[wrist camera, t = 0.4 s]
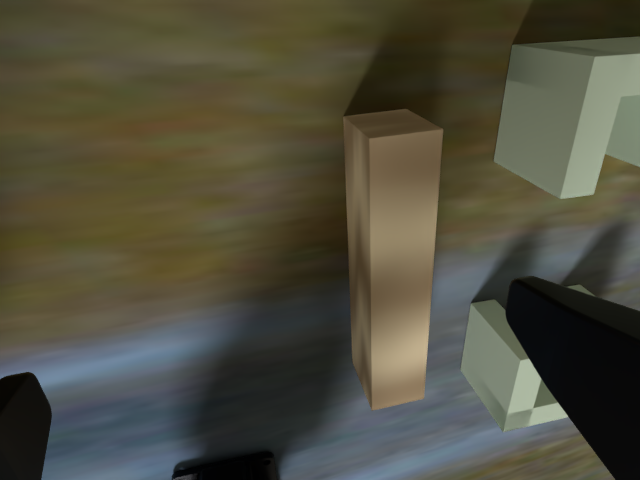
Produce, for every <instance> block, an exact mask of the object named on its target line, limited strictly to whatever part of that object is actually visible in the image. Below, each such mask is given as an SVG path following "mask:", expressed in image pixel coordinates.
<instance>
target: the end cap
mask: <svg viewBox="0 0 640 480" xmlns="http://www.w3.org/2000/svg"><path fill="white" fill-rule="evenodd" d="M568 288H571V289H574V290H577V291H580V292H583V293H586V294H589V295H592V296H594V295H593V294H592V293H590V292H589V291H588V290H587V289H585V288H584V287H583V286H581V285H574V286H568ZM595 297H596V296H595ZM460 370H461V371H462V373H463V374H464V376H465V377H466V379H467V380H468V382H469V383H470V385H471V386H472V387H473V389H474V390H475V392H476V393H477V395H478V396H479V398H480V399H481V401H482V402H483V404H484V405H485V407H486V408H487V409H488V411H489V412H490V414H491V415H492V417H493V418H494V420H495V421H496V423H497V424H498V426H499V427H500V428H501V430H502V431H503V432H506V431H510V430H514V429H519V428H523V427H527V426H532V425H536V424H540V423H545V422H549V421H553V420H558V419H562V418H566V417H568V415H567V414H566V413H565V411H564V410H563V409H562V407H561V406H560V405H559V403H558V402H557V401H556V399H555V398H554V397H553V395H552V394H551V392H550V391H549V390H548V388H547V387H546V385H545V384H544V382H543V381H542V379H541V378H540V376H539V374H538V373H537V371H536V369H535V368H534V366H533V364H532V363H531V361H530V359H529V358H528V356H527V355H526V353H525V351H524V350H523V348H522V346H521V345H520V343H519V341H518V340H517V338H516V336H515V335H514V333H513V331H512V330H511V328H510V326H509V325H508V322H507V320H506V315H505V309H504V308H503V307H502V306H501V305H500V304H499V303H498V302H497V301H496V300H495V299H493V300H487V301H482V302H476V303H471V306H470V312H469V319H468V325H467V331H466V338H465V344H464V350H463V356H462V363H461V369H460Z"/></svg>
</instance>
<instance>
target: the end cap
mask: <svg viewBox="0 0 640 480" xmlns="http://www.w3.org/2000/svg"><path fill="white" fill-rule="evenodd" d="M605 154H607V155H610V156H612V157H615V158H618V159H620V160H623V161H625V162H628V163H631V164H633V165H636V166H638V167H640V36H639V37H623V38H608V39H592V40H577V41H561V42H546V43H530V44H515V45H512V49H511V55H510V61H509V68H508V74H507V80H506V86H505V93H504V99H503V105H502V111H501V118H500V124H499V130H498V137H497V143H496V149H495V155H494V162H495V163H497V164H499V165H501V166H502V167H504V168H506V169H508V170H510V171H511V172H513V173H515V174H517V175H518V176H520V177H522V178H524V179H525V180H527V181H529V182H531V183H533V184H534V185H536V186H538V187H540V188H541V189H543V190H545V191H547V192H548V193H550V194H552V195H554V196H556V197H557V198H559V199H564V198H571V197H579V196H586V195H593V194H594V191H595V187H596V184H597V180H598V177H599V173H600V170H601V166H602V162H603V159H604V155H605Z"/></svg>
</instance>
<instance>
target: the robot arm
mask: <svg viewBox="0 0 640 480" xmlns="http://www.w3.org/2000/svg"><path fill="white" fill-rule="evenodd" d="M505 315H506V320H507V322H508V325H509V326H510V328H511V330H512V331H513V333H514V335H515V336H516V338H517V340H518V341H519V343H520V345H521V346H522V348H523V350H524V351H525V353H526V355H527V356H528V358H529V359H530V361H531V363H532V364H533V366H534V368H535V369H536V371H537V373H538V374H539V376H540V378H541V379H542V381H543V382H544V384H545V385H546V387H547V388H548V390H549V391H550V392H551V394H552V395H553V397H554V398H555V399H556V401H557V402H558V403H559V405H560V406H561V407H562V409H563V410H564V411H565V413H566V414H567V415H568V417H569V418H570V419H571V421H572V422H573V424H574V425H575V426H576V428H577V429H578V430H579V432H580V433H581V434H582V436H583V437H584V438H585V440H586V441H587V442H588V444H589V445H590V446H591V448H592V449H593V450H594V452H595V453H596V454H597V456H598V457H599V458H600V460H601V461H602V462H603V464H604V465H605V466H606V468H607V469H608V470H609V472H610V473H611V474H612V476H613V477H614V478H615V480H640V311H638V310H635V309H632V308H629V307H626V306H623V305H620V304H617V303H614V302H611V301H608V300H605V299H602V298H598V297H595V296H592V295H589V294H586V293H583V292H580V291H577V290H574V289H571V288H568V287H565V286H562V285H559V284H556V283H553V282H550V281H547V280H544V279H541V278H538V277H534V276H527V277H522V278H517V279H514V280H512V282H511V283H510V286H509V292H508V298H507V304H506V310H505ZM51 418H52V413H51V407H50V404H49V402H48V400H47V398H46V396H45V394H44V392H43V390H42V388H41V385H40V383H39V381H38V379H37V378H36V376H35V375H34V374H33V373H30V372H25V373H20V374H15V375H9V376H6V377H3V378H2V379H0V480H41V478H42V472H43V466H44V460H45V454H46V448H47V443H48V437H49V431H50V425H51ZM172 480H277V476H276V468H275V461H274V455H273V454H272V453H271V452H265V453H260V454H256V455H251V456H246V457H242V458H237V459H233V460H228V461H224V462H219V463H214V464H210V465H205V466H201V467H196V468H191V469H187V470H182V471H178V472H175V473H174V474H173V475H172Z"/></svg>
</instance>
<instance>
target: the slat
mask: <svg viewBox="0 0 640 480" xmlns="http://www.w3.org/2000/svg"><path fill="white" fill-rule="evenodd" d="M343 123H344V150H345V176H346V203H347V229H348V256H349V282H350V309H351V335H352V362H353V365H354V367H355V370H356V372H357V375H358V377H359V380H360V382H361V385H362V387H363V390H364V392H365V395H366V397H367V399H368V402H369V404H370V407H371V409H372V410H377V409H381V408H385V407H390V406H394V405H398V404H402V403H407V402H411V401H415V400H420V399H424V389H425V375H426V361H427V347H428V334H429V320H430V306H431V292H432V278H433V264H434V250H435V236H436V223H437V209H438V195H439V181H440V167H441V153H442V139H443V129H442V128H440V127H439V126H437V125H435V124H433V123H431V122H429V121H428V120H426V119H424V118H422V117H420V116H418V115H417V114H415V113H413V112H411V111H409V110H407V109H400V110H392V111H383V112H375V113H367V114H358V115H350V116H343Z"/></svg>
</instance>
